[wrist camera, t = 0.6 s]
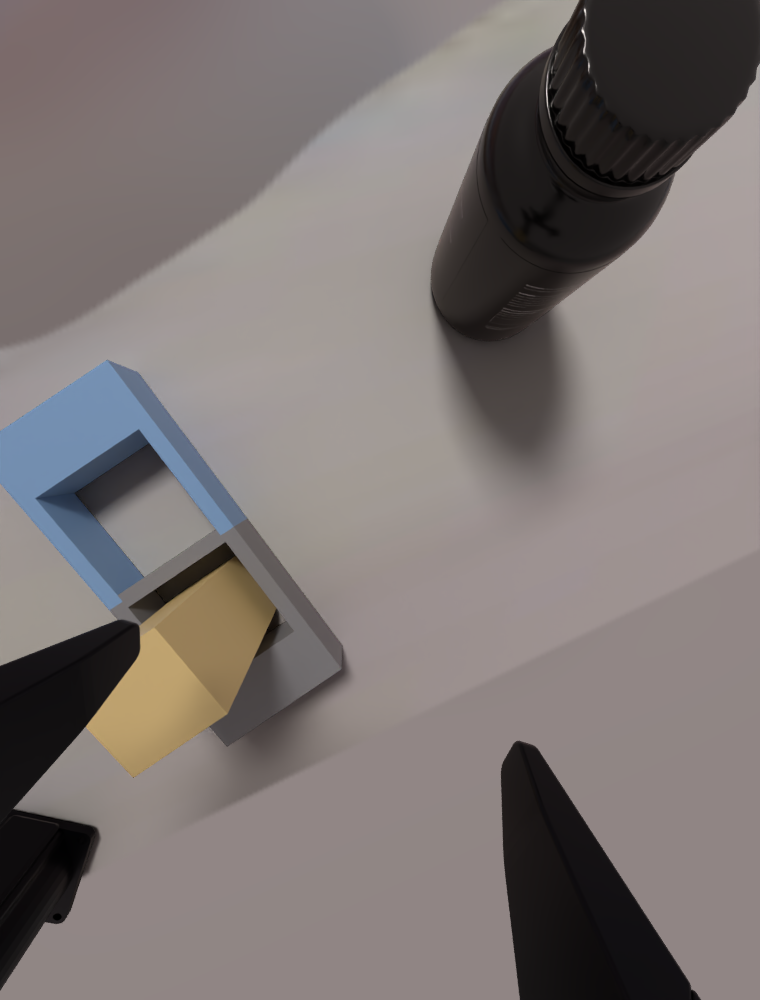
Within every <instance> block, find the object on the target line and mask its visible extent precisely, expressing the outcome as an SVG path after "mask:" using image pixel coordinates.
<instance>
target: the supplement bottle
mask: <svg viewBox="0 0 760 1000" xmlns="http://www.w3.org/2000/svg"><path fill="white" fill-rule="evenodd" d="M759 63H760V0H579V2H578V4H577V6H576V8H575V10H574V12H573V14H572V16H571V18H570V20H569V22H568V23H567V24H566V26H565V27H564V29H563V30H562V32H561V33H560V35H559V37H558V39H557V41H556V43H555V45H554V46H553V47H551V48H549V49H547V50H545V51H544V52H542V53H541V54H539V55H538V56H536V57H535V58H533V59H532V60H531V61H530V62H528V63H527V64H526V65H525V66H524V67H522V68H521V69H520V70H519V72H518V73H517V74H516V75H515V76H514V77H513V78H512V79H511V80H510V81H509V83H508V84H507V85H506V87H505V88H504V89H503V91H502V92H501V94H500V96H499V97H498V99H497V101H496V103H495V105H494V107H493V109H492V111H491V113H490V115H489V117H488V119H487V122H486V124H485V127H484V129H483V131H482V134H481V136H480V139H479V141H478V144H477V147H476V149H475V152H474V154H473V157H472V159H471V162H470V164H469V167H468V169H467V172H466V174H465V177H464V179H463V182H462V184H461V187H460V189H459V192H458V194H457V197H456V200H455V202H454V205H453V207H452V210H451V212H450V215H449V217H448V220H447V222H446V225H445V227H444V230H443V232H442V235H441V237H440V240H439V243H438V245H437V248H436V251H435V254H434V258H433V262H432V268H431V285H432V291H433V295H434V299H435V302H436V304H437V306H438V308H439V310H440V312H441V314H442V315H443V317H444V318H445V319H446V321H447V322H448V323H449V324H450V325H451V326H452V327H453V328H455V329H456V330H457V331H459V332H460V333H462V334H464V335H466V336H468V337H470V338H473V339H477V340H483V341H496V340H502V339H506V338H509V337H511V336H514V335H515V334H517V333H519V332H521V331H522V330H524V329H525V328H527V327H528V326H529V325H531V324H532V323H534V322H535V321H536V320H538V319H539V318H540V317H542V316H543V315H544V314H545V313H547V312H548V311H549V310H551V309H552V308H553V307H555V306H556V305H557V304H559V303H560V302H561V301H562V300H564V299H565V298H566V297H568V296H569V295H570V294H572V293H573V292H574V291H575V290H577V289H578V288H579V287H581V286H582V285H583V284H585V283H586V282H587V281H589V280H590V279H591V278H592V277H594V276H595V275H596V274H598V273H599V272H600V271H602V270H603V269H604V268H606V267H607V266H608V265H609V264H611V263H612V262H613V261H615V260H616V259H617V258H619V257H620V256H621V255H622V254H623V253H625V252H626V251H627V250H628V249H629V248H630V247H632V246H633V245H634V244H635V243H636V242H637V241H638V240H639V239H640V238H641V237H642V236H643V235H644V233H645V232H646V231H647V230H648V229H649V227H650V226H651V225H652V223H653V222H654V220H655V219H656V217H657V215H658V214H659V212H660V210H661V208H662V206H663V205H664V202H665V200H666V198H667V196H668V193H669V191H670V188H671V185H672V182H673V179H674V176H675V172H677V171H678V170H679V169H680V168H681V167H682V166H683V165H684V164H685V163H686V162H687V161H688V159H689V158H690V157H691V156H692V154H693V153H694V152H695V151H696V150H697V149H698V148H699V147H700V146H701V145H702V144H704V143H705V142H706V141H707V140H708V139H709V138H710V137H711V136H712V135H713V134H714V133H715V132H717V131H718V130H719V129H720V128H721V127H722V126H723V125H724V124H725V123H726V122H727V121H728V120H729V119H730V118H731V117H732V116H733V115H734V113H735V111H736V109H737V107H738V106H739V105H740V104H741V103H742V102H743V101H744V100H745V99H746V97H747V93H748V89H749V87H750V86H751V84H752V83H753V82H754V81H755V79H756V70H757V67H758V65H759Z"/></svg>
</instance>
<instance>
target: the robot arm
mask: <svg viewBox="0 0 760 1000" xmlns="http://www.w3.org/2000/svg"><path fill="white" fill-rule="evenodd" d="M140 648H141V647H140V627H139V625H138V624H137V623H134V622H131V621H128V620H124V619H121V620H117V621H114V622H111V623H109V624H106V625H104V626H101V627H99V628H96V629H94V630H91V631H88V632H86V633H83V634H81V635H78V636H76V637H73V638H70V639H68V640H65V641H63V642H60V643H58V644H55V645H53V646H50V647H47V648H45V649H42V650H40V651H37V652H35V653H32V654H29V655H27V656H24V657H22V658H19V659H17V660H14V661H11V662H9V663H6V664H4V665H1V666H0V990H1V989H2V987H3V985H4V984H5V983H6V981H7V979H8V978H9V976H10V975H11V973H12V972H13V970H14V969H15V967H16V966H17V964H18V962H19V961H20V959H21V958H22V956H23V955H24V953H25V952H26V950H27V949H28V947H29V946H30V944H31V942H32V941H33V939H34V938H35V936H36V935H37V933H38V932H39V930H40V929H41V927H42V926H43V924H44V923H45V922H48V923H54V924H59V923H62V922H63V921H64V920H65V919H66V917H67V915H68V914H69V912H70V910H71V908H72V905H73V902H74V898H75V895H76V892H77V889H78V886H79V883H80V880H81V877H82V874H83V871H84V868H85V865H86V862H87V859H88V856H89V853H90V850H91V847H92V843H93V840H94V837H95V830H94V829H93V828H91V827H89V826H84V825H79V824H75V823H70V822H65V821H60V820H56V819H51V818H46V817H42V816H37V815H32V814H27V813H23V812H18V811H13V810H12V809H13V808H14V807H15V806H16V805H17V804H18V803H19V801H20V800H21V799H22V798H23V797H24V796H25V795H26V794H27V792H28V791H29V790H30V789H31V788H32V787H33V786H34V785H35V783H36V782H37V781H38V780H39V779H40V778H41V777H42V776H43V774H44V773H45V772H46V771H47V770H48V769H49V768H50V766H51V765H52V764H53V763H54V762H55V761H56V760H57V759H58V757H59V756H60V755H61V754H62V753H63V752H64V751H65V750H66V748H67V747H68V746H69V745H70V744H71V743H72V742H73V741H74V739H75V738H76V737H77V736H78V735H79V734H80V733H81V731H82V730H83V729H84V728H85V727H86V726H87V724H88V723H89V722H90V721H91V719H92V718H93V717H94V715H95V714H96V713H97V712H98V710H99V709H100V708H101V706H102V705H103V704H104V702H105V701H106V700H107V698H108V697H109V695H110V694H111V693H112V691H113V690H114V689H115V687H116V686H117V685H118V683H119V682H120V681H121V679H122V678H123V677H124V675H125V674H126V673H127V671H128V670H129V669H130V667H131V666H132V665H133V663H134V662H135V661H136V659H137V657H138V656H139V653H140ZM501 788H502V789H501V792H502V822H503V823H502V824H503V851H504V866H505V877H506V885H507V894H508V902H509V911H510V919H511V927H512V935H513V944H514V953H515V961H516V969H517V978H518V987H519V995H520V1000H701V999H700V998H699V996H698V994H697V993H696V992H695V991H694V990H691V985H690V983H689V981H688V979H687V978H686V976H685V975H684V973H683V972H682V970H681V969H680V967H679V965H678V964H677V962H676V961H675V959H674V958H673V956H672V955H671V953H670V952H669V951H668V949H667V947H666V945H665V944H664V943H663V941H662V939H661V938H660V936H659V935H658V933H657V932H656V930H655V929H654V927H653V925H652V924H651V922H650V921H649V919H648V918H647V916H646V915H645V913H644V912H643V910H642V909H641V907H640V905H639V904H638V903H637V901H636V899H635V898H634V896H633V895H632V893H631V892H630V890H629V889H628V887H627V885H626V884H625V882H624V881H623V879H622V878H621V876H620V875H619V873H618V872H617V870H616V869H615V867H614V866H613V864H612V862H611V861H610V859H609V858H608V856H607V855H606V853H605V852H604V850H603V849H602V847H601V845H600V844H599V842H598V841H597V839H596V838H595V836H594V835H593V833H592V832H591V830H590V829H589V827H588V825H587V824H586V822H585V821H584V819H583V818H582V816H581V815H580V813H579V812H578V810H577V809H576V807H575V805H574V804H573V802H572V801H571V800H570V798H569V796H568V795H567V793H566V792H565V790H564V789H563V787H562V785H561V784H560V782H559V781H558V779H557V778H556V776H555V775H554V773H553V772H552V770H551V769H550V767H549V765H548V764H547V762H546V761H545V759H544V758H543V756H542V755H541V753H540V752H539V750H538V749H537V748H536V747H535V746H533V745H531V744H528V743H525V742H521V741H516V742H515V743H514V744H513V746H512V747H511V749H510V751H509V753H508V754H507V756H506V758H505V760H504V761H503V764H502V768H501Z"/></svg>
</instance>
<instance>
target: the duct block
mask: <svg viewBox="0 0 760 1000" xmlns="http://www.w3.org/2000/svg"><path fill="white" fill-rule="evenodd" d="M149 443H150V444H151V446H152V447H153V448H154V450H155V451H156V452H157V453H158V455H159V456H160V457H161V459H162V460H163V461H164V463H165V464H166V465H167V466H168V468H169V469H170V470H171V472H172V473H173V474H174V476H175V477H176V478H177V479H178V481H179V482H180V483H181V485H182V486H183V487H184V489H185V490H186V491H187V492H188V494H189V495H190V496H191V498H192V499H193V500H194V502H195V503H196V504H197V505H198V507H199V508H200V509H201V511H202V512H203V513H204V515H205V516H206V517H207V518H208V520H209V521H210V522H211V524H212V525H213V526H214V528H215V530H214V531H212V532H211V533H209V534H208V535H206V536H205V537H204V538H202V539H201V540H199V541H198V542H196V543H195V544H193V545H192V546H190V547H189V548H187V549H186V550H184V551H183V552H181V553H180V554H178V555H177V556H175V557H174V558H172V559H171V560H169V561H168V562H166V563H165V564H163V565H162V566H160V567H159V568H157V569H156V570H154V571H153V572H152V573H150V574H149V575H147V576H146V577H143V576H142V574H141V573H140V572H139V571H138V570H137V568H136V567H135V566H134V565H133V564H132V562H131V561H130V560H129V559H128V557H127V556H126V555H125V554H124V553H123V551H122V550H121V549H120V548H119V547H118V545H117V544H116V543H115V542H114V541H113V539H112V538H111V537H110V536H109V534H108V533H107V532H106V531H105V530H104V528H103V527H102V526H101V525H100V524H99V522H98V521H97V520H96V519H95V518H94V516H93V515H92V514H91V513H90V512H89V510H88V509H87V508H86V507H85V505H84V504H83V503H82V502H81V501H80V499H79V498H78V497H77V496H76V495H75V492H77V491H78V490H80V489H81V488H83V487H84V486H86V485H87V484H89V483H90V482H92V481H93V480H95V479H96V478H98V477H99V476H101V475H102V474H104V473H105V472H107V471H108V470H110V469H111V468H113V467H114V466H116V465H117V464H119V463H120V462H122V461H123V460H125V459H126V458H128V457H129V456H131V455H132V454H134V453H135V452H137V451H138V450H140V449H141V448H143V447H144V446H146V445H147V444H149ZM0 484H1V485H2V486H3V487H4V488H5V489H6V491H7V492H8V493H9V494H10V495H11V496H12V498H13V499H14V500H15V501H16V502H17V503H18V505H19V506H20V507H21V508H22V509H23V510H24V512H25V513H26V514H27V515H28V516H29V517H30V518H31V520H32V521H33V522H34V523H35V524H36V525H37V527H38V528H39V529H40V530H41V531H42V532H43V534H44V535H45V536H46V537H47V538H48V539H49V541H50V542H51V543H52V544H53V545H54V546H55V548H56V549H57V550H58V551H59V552H60V553H61V555H62V556H63V557H64V558H65V559H66V560H67V561H68V563H69V564H70V565H71V566H72V567H73V568H74V570H75V571H76V572H77V573H78V574H79V575H80V577H81V578H82V579H83V580H84V581H85V582H86V584H87V585H88V586H89V587H90V588H91V589H92V591H93V592H94V593H95V594H96V595H97V596H98V597H99V599H100V600H101V601H102V602H103V603H104V604H105V606H106V607H107V608H108V609H109V610H110V611H111V613H112V614H113V615H114V616H115V617H116V618H117V620H121V619H124V620H128V621H131V622H134V623H137V624H138V625H139V626H140V625H141V624H142V623H144V622H145V621H146V620H147V619H148V618H150V617H151V616H152V615H153V614H155V613H156V612H157V611H158V610H160V609H161V608H162V607H163V606H164V605H166V603H165V602H164V601H163V600H162V599H161V597H160V596H159V595H158V594H157V593H156V591H155V589H156V588H158V587H159V586H161V585H162V584H164V583H165V582H167V581H168V580H170V579H171V578H173V577H174V576H176V575H177V574H178V573H180V572H181V571H183V570H184V569H186V568H187V567H189V566H190V565H192V564H193V563H195V562H196V561H198V560H199V559H201V558H202V557H204V556H205V555H207V554H208V553H210V552H211V551H213V550H214V549H216V548H217V547H219V546H220V545H222V544H223V543H225V542H226V543H227V544H228V546H229V547H230V548H231V550H232V551H233V552H234V554H235V555H236V556H237V557H238V559H239V560H240V561H241V563H242V564H243V565H244V567H245V568H246V569H247V570H248V572H249V573H250V574H251V576H252V577H253V578H254V580H255V581H256V582H257V583H258V585H259V586H260V587H261V589H262V590H263V591H264V593H265V594H266V595H267V596H268V598H269V599H270V600H271V602H272V603H273V604H274V606H275V607H276V608H277V609H278V611H279V612H280V613H281V615H282V616H283V617H284V619H285V620H286V622H284V623H283V624H281V625H280V626H278V627H277V628H275V629H274V630H272V631H271V632H269V633H268V634H266V635H265V636H264V637H263V639H262V641H261V643H260V645H259V648H258V650H257V652H256V654H255V656H254V658H253V660H252V663H251V665H250V667H249V669H248V671H247V673H246V675H245V678H244V680H243V682H242V684H241V686H240V688H239V690H238V693H237V695H236V697H235V699H234V701H233V703H232V705H231V708H230V710H229V712H228V714H227V715H225V716H224V717H222V718H221V719H219V720H218V721H216V722H215V723H213V724H212V725H211V726H210V728H211V729H212V730H213V731H214V732H215V733H216V735H217V736H218V737H219V738H220V739H221V740H222V742H223V743H224V744H225V745H226V746H229V745H230V744H232V743H233V742H235V741H236V740H238V739H239V738H241V737H242V736H244V735H245V734H247V733H248V732H250V731H251V730H253V729H254V728H255V727H257V726H258V725H260V724H261V723H263V722H264V721H266V720H267V719H269V718H270V717H272V716H273V715H275V714H276V713H278V712H279V711H281V710H282V709H283V708H285V707H286V706H288V705H289V704H291V703H292V702H294V701H295V700H297V699H298V698H300V697H301V696H303V695H304V694H306V693H307V692H309V691H310V690H311V689H313V688H314V687H316V686H317V685H319V684H320V683H322V682H323V681H325V680H326V679H328V678H329V677H331V676H332V675H334V674H335V673H337V672H338V671H339V670H341V669H342V644H341V643H340V642H339V640H338V639H337V638H336V636H335V635H334V634H333V632H332V631H331V630H330V628H329V627H328V626H327V624H326V623H325V622H324V620H323V619H322V618H321V616H320V615H319V614H318V612H317V611H316V610H315V608H314V607H313V606H312V604H311V603H310V602H309V600H308V599H307V598H306V596H305V595H304V594H303V592H302V591H301V589H300V588H299V587H298V585H297V584H296V583H295V581H294V580H293V579H292V577H291V576H290V575H289V573H288V572H287V571H286V569H285V568H284V567H283V565H282V564H281V563H280V561H279V560H278V559H277V557H276V556H275V555H274V553H273V552H272V551H271V549H270V548H269V547H268V545H267V544H266V543H265V541H264V540H263V539H262V537H261V536H260V535H259V533H258V532H257V531H256V529H255V528H254V527H253V525H252V524H251V523H250V521H249V520H248V519H247V517H246V516H245V515H244V513H243V512H242V511H241V509H240V508H239V507H238V505H237V504H236V503H235V501H234V500H233V499H232V497H231V496H230V495H229V493H228V492H227V491H226V489H225V488H224V487H223V485H222V484H221V483H220V481H219V480H218V479H217V477H216V476H215V475H214V473H213V472H212V471H211V469H210V468H209V467H208V465H207V464H206V463H205V461H204V460H203V459H202V457H201V456H200V455H199V453H198V452H197V451H196V449H195V448H194V447H193V445H192V444H191V443H190V441H189V440H188V439H187V437H186V436H185V435H184V433H183V432H182V430H181V429H180V428H179V426H178V425H177V424H176V422H175V421H174V420H173V418H172V417H171V416H170V414H169V413H168V412H167V410H166V409H165V408H164V406H163V405H162V404H161V402H160V401H159V400H158V398H157V397H156V396H155V394H154V393H153V392H152V390H151V389H150V388H149V386H148V385H147V384H146V382H145V381H144V380H143V378H142V377H141V376H140V374H139V373H138V372H136V371H133V370H131V369H128V368H126V367H123V366H121V365H119V364H116V363H114V362H111V361H109V360H106V361H105V362H103V363H102V364H100V365H99V366H97V367H96V368H94V369H93V370H91V371H90V372H88V373H87V374H85V375H84V376H82V377H81V378H79V379H78V380H76V381H75V382H73V383H72V384H70V385H69V386H67V387H66V388H64V389H63V390H61V391H60V392H58V393H57V394H55V395H54V396H52V397H51V398H49V399H48V400H46V401H45V402H43V403H42V404H40V405H39V406H37V407H36V408H34V409H33V410H31V411H30V412H28V413H27V414H25V415H24V416H22V417H21V418H19V419H18V420H16V421H15V422H13V423H12V424H10V425H9V426H7V427H6V428H4V429H3V430H1V431H0Z"/></svg>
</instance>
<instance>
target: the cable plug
mask: <svg viewBox="0 0 760 1000" xmlns="http://www.w3.org/2000/svg"><path fill="white" fill-rule="evenodd" d="M276 609H277V608H276V607H275V606H274V604H273V603H272V602H271V600H270V599H269V598H268V596H267V595H266V594H265V593H264V591H263V590H262V589H261V587H260V586H259V585H258V583H257V582H256V581H255V580H254V578H253V577H252V576H251V574H250V573H249V572H248V570H247V569H246V568H245V567H244V565H243V564H242V563H241V561H240V560H239V559H238V557H237V556H234V557H233V558H231V559H230V560H228V561H227V562H225V563H224V564H222V565H221V566H219V567H218V568H216V569H215V570H213V571H212V572H210V573H209V574H207V575H206V576H204V577H203V578H201V579H200V580H198V581H197V582H195V583H194V584H193V585H191V586H190V587H188V588H187V589H185V590H184V591H182V592H181V593H179V594H178V595H177V596H176V597H174V598H173V599H172V600H171V601H169V602H168V603H167V604H166V605H164V606H163V607H162V608H161V609H160V610H158V611H157V612H156V613H155V614H153V615H152V616H151V617H150V618H148V619H147V620H146V621H145V622H144V623H142V624H141V625H140V626H139V627H140V647H141V648H140V653H139V656H138V657H137V659H136V661H135V662H134V663H133V665H132V666H131V667H130V669H129V670H128V671H127V673H126V674H125V675H124V677H123V678H122V679H121V681H120V682H119V683H118V685H117V686H116V687H115V689H114V690H113V691H112V693H111V694H110V695H109V697H108V698H107V700H106V701H105V702H104V704H103V705H102V706H101V708H100V709H99V710H98V712H97V713H96V714H95V715H94V717H93V718H92V719H91V721H90V722H89V723H88V724H87V726H86V728H87V729H88V730H89V731H90V732H91V733H92V734H93V735H94V736H95V737H96V738H97V740H98V741H99V742H100V743H101V744H102V745H103V746H104V747H105V748H106V749H107V750H108V751H109V752H110V754H111V755H112V756H113V757H114V758H115V759H116V760H117V761H118V762H119V763H120V764H121V765H122V766H123V767H124V769H125V770H126V771H127V772H128V773H129V774H130V775H131V776H132V777H133V778H134V777H135V776H137V775H138V774H140V773H141V772H143V771H144V770H146V769H147V768H149V767H150V766H152V765H153V764H155V763H156V762H157V761H159V760H160V759H162V758H163V757H165V756H166V755H168V754H169V753H171V752H172V751H174V750H175V749H177V748H178V747H180V746H181V745H183V744H184V743H185V742H187V741H188V740H190V739H191V738H193V737H194V736H196V735H197V734H199V733H200V732H202V731H203V730H205V729H206V728H208V727H209V726H211V725H212V724H213V723H215V722H216V721H218V720H219V719H221V718H222V717H224V716H225V715H227V714H228V712H229V710H230V708H231V705H232V703H233V701H234V699H235V697H236V695H237V693H238V690H239V688H240V686H241V684H242V682H243V680H244V678H245V675H246V673H247V671H248V669H249V667H250V665H251V663H252V660H253V658H254V656H255V654H256V652H257V650H258V648H259V645H260V643H261V641H262V639H263V637H264V635H265V632H266V630H267V628H268V626H269V624H270V622H271V620H272V617H273V615H274V613H275V611H276Z"/></svg>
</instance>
